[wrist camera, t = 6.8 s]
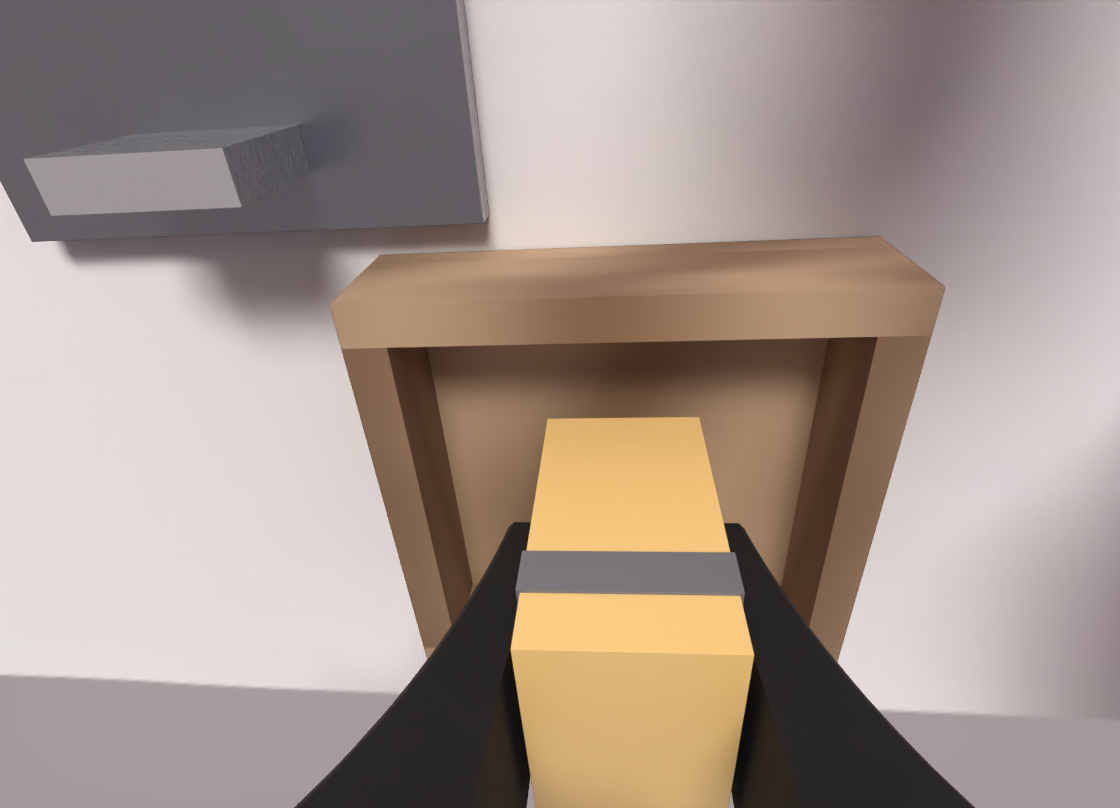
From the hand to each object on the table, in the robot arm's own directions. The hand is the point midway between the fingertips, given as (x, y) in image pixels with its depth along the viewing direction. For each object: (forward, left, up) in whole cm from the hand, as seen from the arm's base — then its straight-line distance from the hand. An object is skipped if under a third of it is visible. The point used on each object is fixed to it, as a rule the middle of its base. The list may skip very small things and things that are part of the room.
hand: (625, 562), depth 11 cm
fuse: (0, 0, -2) cm, 2 cm away
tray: (0, 0, -4) cm, 4 cm away
